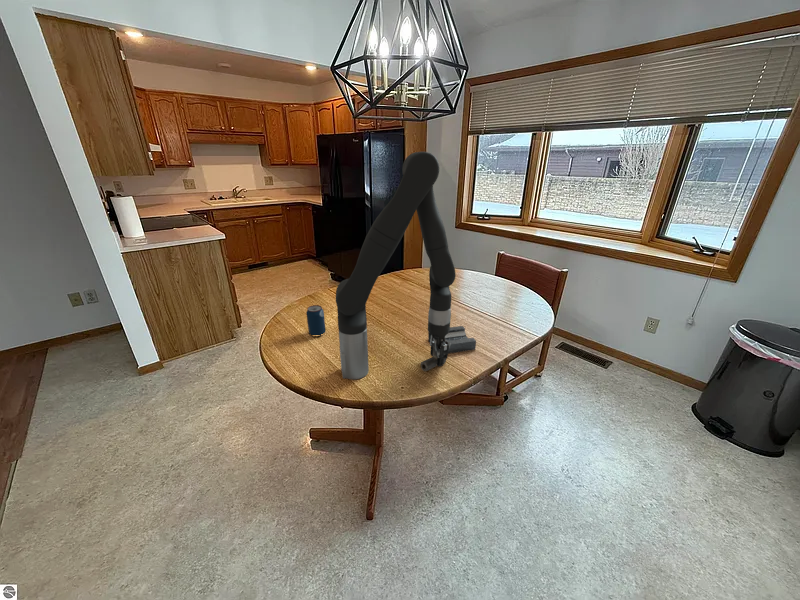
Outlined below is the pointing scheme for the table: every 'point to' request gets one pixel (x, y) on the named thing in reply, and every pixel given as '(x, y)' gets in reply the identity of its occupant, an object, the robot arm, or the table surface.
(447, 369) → the table surface
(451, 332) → the v block
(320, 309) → the soda can
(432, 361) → the pipe
